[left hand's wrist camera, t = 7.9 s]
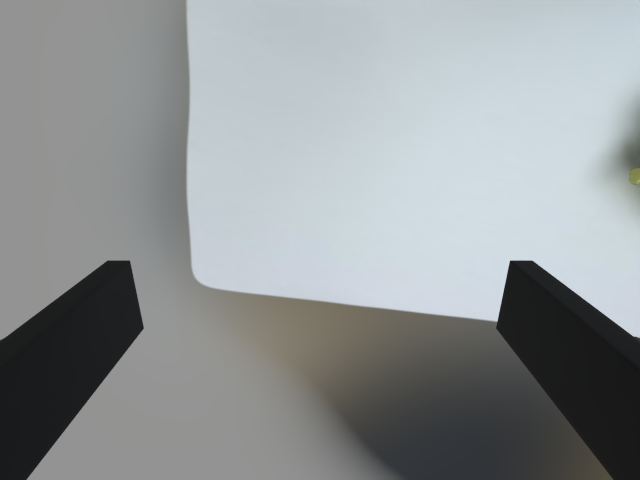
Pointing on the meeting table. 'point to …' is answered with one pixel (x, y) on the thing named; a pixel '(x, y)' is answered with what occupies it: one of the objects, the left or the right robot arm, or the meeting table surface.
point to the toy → (635, 176)
